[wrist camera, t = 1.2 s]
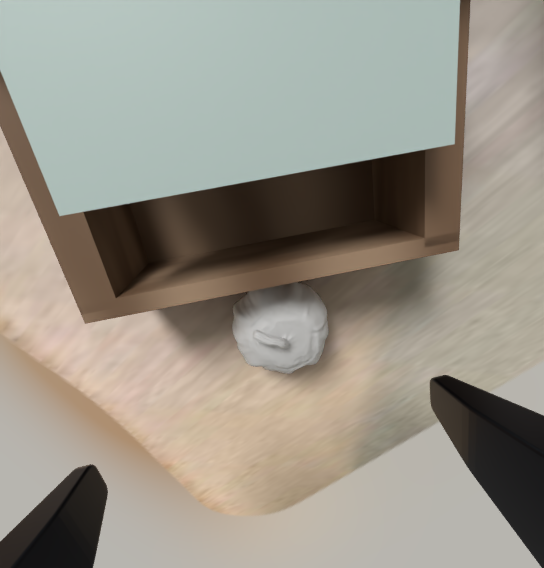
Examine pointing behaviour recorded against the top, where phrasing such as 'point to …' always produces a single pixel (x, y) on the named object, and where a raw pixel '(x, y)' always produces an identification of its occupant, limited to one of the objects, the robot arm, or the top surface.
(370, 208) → the frame
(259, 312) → the garlic
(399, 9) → the trapdoor plate
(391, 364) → the top surface
